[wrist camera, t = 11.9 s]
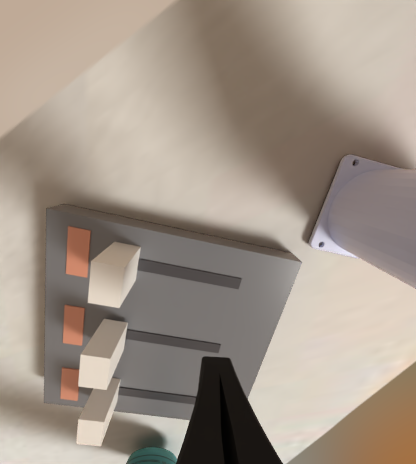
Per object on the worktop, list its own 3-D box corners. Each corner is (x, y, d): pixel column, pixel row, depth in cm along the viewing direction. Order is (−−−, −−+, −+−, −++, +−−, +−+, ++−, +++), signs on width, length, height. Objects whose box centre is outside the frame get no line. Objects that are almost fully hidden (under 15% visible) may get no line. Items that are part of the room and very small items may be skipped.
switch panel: (291, 252, 18) (327, 285, 13) (233, 405, 24) (243, 471, 19) (64, 204, 16) (0, 219, 11) (57, 382, 22) (12, 449, 17)
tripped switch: (127, 322, 17) (110, 358, 14) (123, 349, 18) (106, 390, 15) (104, 318, 17) (80, 354, 14) (101, 346, 18) (78, 386, 15)
